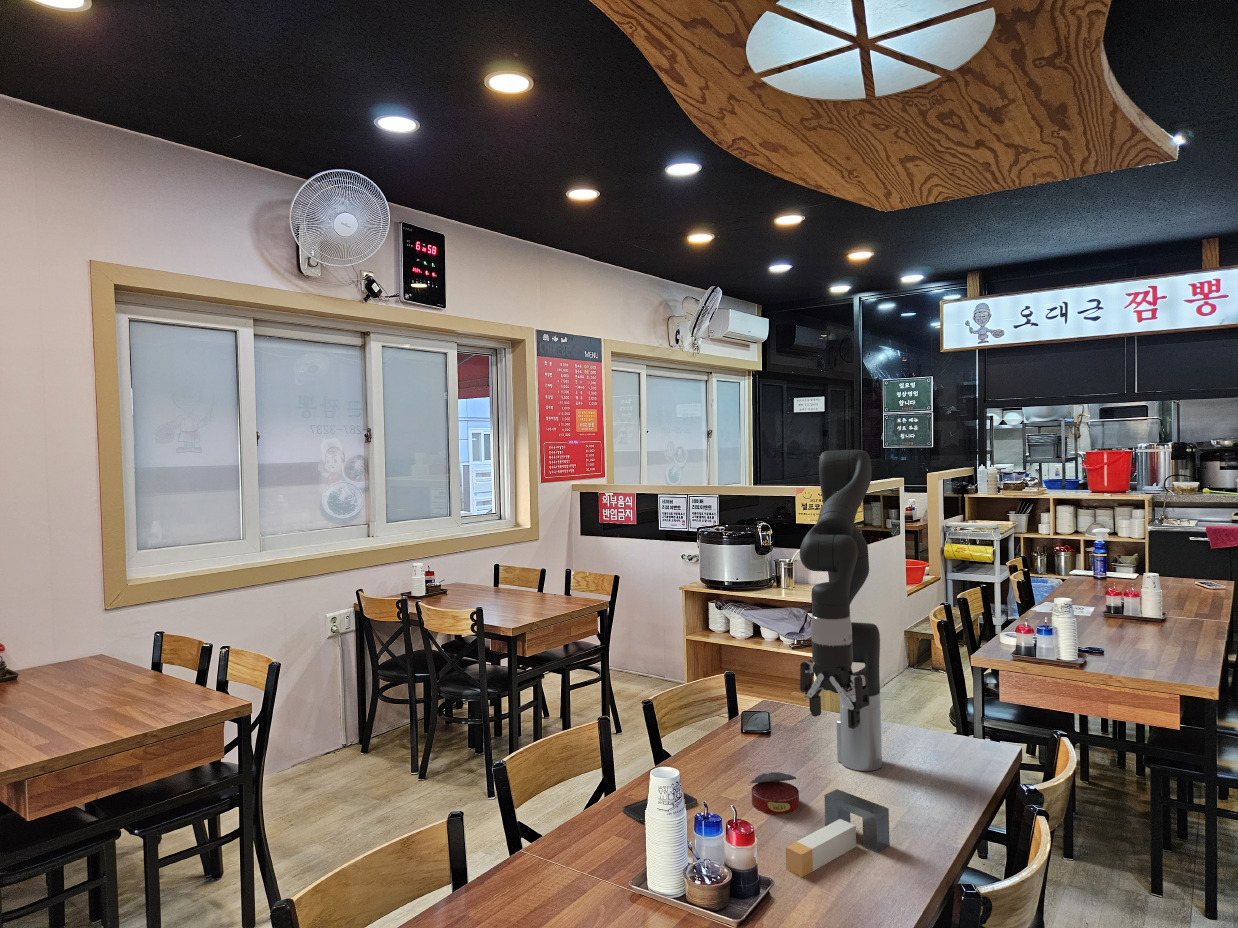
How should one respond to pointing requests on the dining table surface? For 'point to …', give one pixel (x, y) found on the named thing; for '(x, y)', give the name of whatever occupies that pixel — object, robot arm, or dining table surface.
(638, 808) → the phone
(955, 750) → the dining table surface
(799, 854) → the bar
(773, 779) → the canned food
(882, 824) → the u-shaped slotted block
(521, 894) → the dining table surface
